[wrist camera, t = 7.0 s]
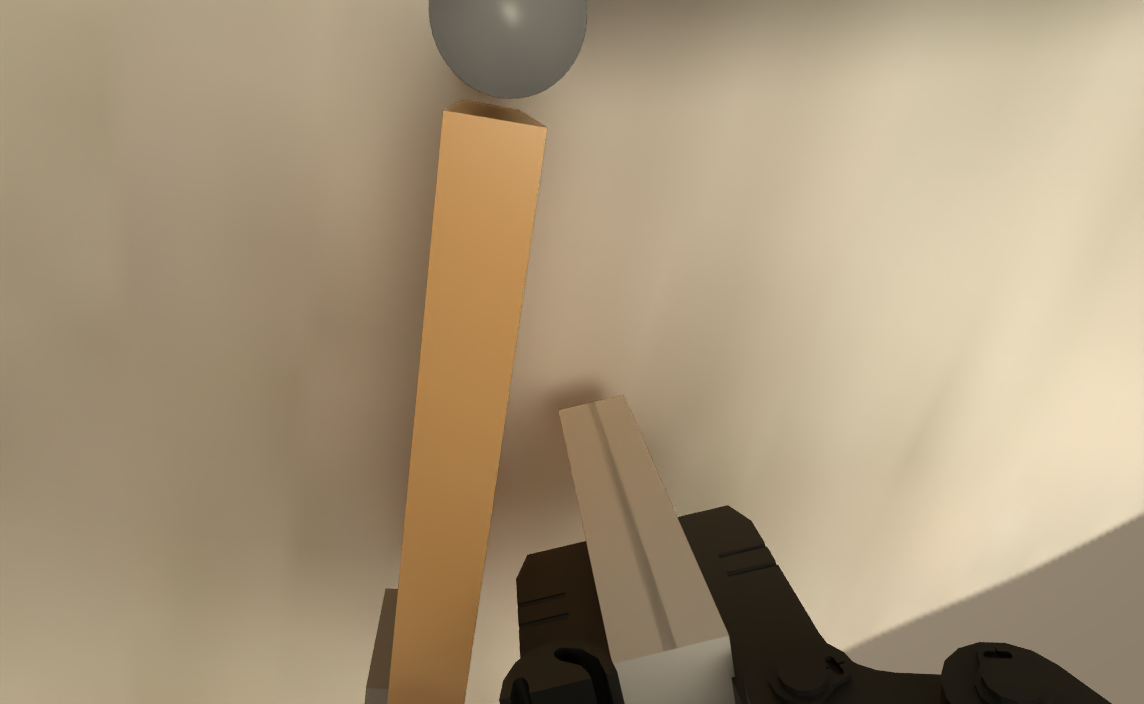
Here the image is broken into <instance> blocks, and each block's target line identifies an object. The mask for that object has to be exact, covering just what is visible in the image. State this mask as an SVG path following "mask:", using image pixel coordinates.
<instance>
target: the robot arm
mask: <svg viewBox="0 0 1144 704" xmlns="http://www.w3.org/2000/svg"><path fill="white" fill-rule="evenodd" d="M558 411H559V415H560V420H561V425H562V429H563V434H564V439H565V444H566V448H567V453H568V458H569V462H570V467H571V472H572V477H573V481H574V486H575V491H576V495H577V500H578V505H579V509H580V514H581V519H582V524H583V528H584V533H585V538H586V541H584V542H580V543H576V544H572V545H567V546H563V547H559V548H555V549H550V550H546V551H542V552H538V553H534V554H529V555H527V557H526V559H525V561H524V563H523V566H522V568H521V570H520V572H519V574H518V576H517V578H516V585H517V603H518V622H519V629H520V630H519V640H520V659H519V660H518V661H517V662H516V663H515V664H514V665H513V667H512V668H511V670H510V671H509V673H508V674H507V676H506V677H505V679H504V680H503V685H502V689H501V694H500V699H499V701H500V704H1111V703H1110V702H1109V701H1107V700H1106V699H1104V698H1103V697H1102V696H1100V695H1099V694H1097V693H1096V692H1095V691H1093V690H1092V689H1091V688H1089V687H1088V686H1086V685H1085V684H1083V683H1082V682H1081V681H1079V680H1078V679H1077V678H1075V677H1074V676H1072V675H1071V674H1070V673H1068V672H1067V671H1065V670H1064V669H1063V668H1061V667H1060V666H1059V665H1057V664H1055V663H1053V662H1051V661H1050V660H1048V659H1046V658H1044V657H1043V656H1041V655H1039V654H1037V653H1035V652H1033V651H1031V650H1028V649H1024V648H1021V647H1017V646H1013V645H1010V644H1007V643H986V642H979V643H975V644H972V645H968V646H965V647H962V648H958V649H957V650H956V651H955V652H954V653H953V654H952V655H950V656H949V657H948V658H947V659H946V660H945V662H944V666H943V669H942V673H941V675H935V674H913V673H894V672H886V671H879V670H874V669H871V668H868V667H865V666H862V665H858V664H856V663H854V662H853V661H851V659H850V658H849V657H848V656H847V655H846V654H845V653H844V652H843V651H841V650H839V649H837V648H835V647H833V646H831V645H829V644H828V643H826V641H825V640H824V639H823V638H822V636H821V635H820V634H819V632H818V630H817V629H816V627H815V625H814V624H813V622H812V621H811V619H810V617H809V616H808V614H807V612H806V611H805V609H804V607H803V606H802V604H801V602H800V601H799V599H798V597H797V596H796V594H795V592H794V591H793V589H792V587H791V586H790V584H789V582H788V581H787V579H786V577H785V576H784V574H783V572H782V571H781V569H780V568H779V566H778V565H776V562H775V559H774V558H773V556H772V554H771V553H770V551H769V549H768V548H767V547H766V546H765V543H764V541H763V539H762V538H761V536H760V534H759V533H758V531H757V529H756V528H755V526H754V524H753V523H752V521H751V520H749V519H748V518H746V517H745V516H743V515H742V514H740V513H739V512H737V511H736V510H734V509H733V508H731V507H730V506H728V505H727V506H723V507H719V508H714V509H710V510H706V511H702V512H698V513H693V514H689V515H685V516H681V517H677V515H676V513H675V511H674V509H673V506H672V504H671V502H670V499H669V497H668V495H667V493H666V490H665V488H664V486H663V483H662V481H661V479H660V477H659V474H658V472H657V470H656V467H655V465H654V463H653V461H652V458H651V456H650V454H649V451H648V449H647V447H646V444H645V442H644V440H643V438H642V435H641V433H640V431H639V428H638V426H637V424H636V422H635V419H634V417H633V415H632V412H631V410H630V408H629V406H628V403H627V401H626V399H625V396H624V395H622V396H618V397H613V398H609V399H605V400H600V401H596V402H592V403H587V404H583V405H579V406H574V407H570V408H566V409H561V410H558Z"/></svg>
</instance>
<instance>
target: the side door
mask: <svg viewBox="0 0 1144 704" xmlns="http://www.w3.org/2000/svg"><path fill="white" fill-rule="evenodd" d="M429 18H430V25H431V30H432V34H433V37H434V40H435V43H436V45H437V47H438V50H439V52H440V54H441V56H442V57H443V59H444V60H445V62H446V63H447V65H448V66H449V67H450V68H451V70H452V71H453V72H454V73H455V74H456V75H457V76H458V77H459V78H460V79H461V80H462V81H464V82H465V83H466V84H468V85H469V86H471V87H472V88H474V89H476V90H478V91H480V92H482V93H485V94H487V95H490V96H494V97H498V98H507V99H513V98H523V97H529V96H532V95H535V94H538V93H540V92H542V91H544V90H546V89H548V88H549V87H551V86H552V85H554V84H555V83H556V82H557V81H559V80H560V79H561V78H562V77H563V76H564V75H565V74H566V72H567V71H568V70H569V69H570V67H571V66H572V64H573V63H574V61H575V60H576V58H577V56H578V54H579V52H580V49H581V46H582V43H583V40H584V36H585V31H586V23H587V6H586V0H429ZM546 134H547V127H545V126H544V125H542V124H540V123H539V122H537V121H536V120H534V119H533V118H531V117H529V116H528V115H526V114H525V113H523V112H522V111H520V110H518V109H512V108H506V107H500V106H494V105H488V104H482V103H477V102H471V101H465V100H461V101H459V102H458V103H456V104H454V105H452V106H450V107H449V108H447V109H445V110H443V119H442V130H441V140H440V151H439V161H438V172H437V183H436V193H435V204H434V214H433V225H432V235H431V246H430V257H429V267H428V278H427V288H426V299H425V310H424V320H423V331H422V341H421V352H420V363H419V373H418V384H417V394H416V405H415V415H414V426H413V437H412V447H411V458H410V468H409V479H408V490H407V500H406V511H405V521H404V532H403V543H402V553H401V564H400V574H399V585H398V589H385V595H384V600H383V605H382V610H381V615H380V620H379V625H378V630H377V635H376V640H375V645H374V650H373V656H372V661H371V666H370V671H369V676H368V681H367V686H366V695H365V704H464V702H465V695H466V688H467V681H468V674H469V667H470V660H471V653H472V646H473V640H474V633H475V626H476V619H477V612H478V605H479V598H480V591H481V584H482V577H483V570H484V563H485V556H486V549H487V543H488V536H489V529H490V522H491V515H492V508H493V501H494V494H495V487H496V480H497V473H498V466H499V459H500V452H501V446H502V439H503V432H504V425H505V418H506V411H507V404H508V397H509V390H510V383H511V376H512V369H513V362H514V355H515V348H516V342H517V335H518V328H519V321H520V314H521V307H522V300H523V293H524V286H525V279H526V272H527V265H528V258H529V251H530V245H531V238H532V231H533V224H534V217H535V210H536V203H537V196H538V189H539V182H540V175H541V168H542V161H543V154H544V148H545V141H546Z"/></svg>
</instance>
